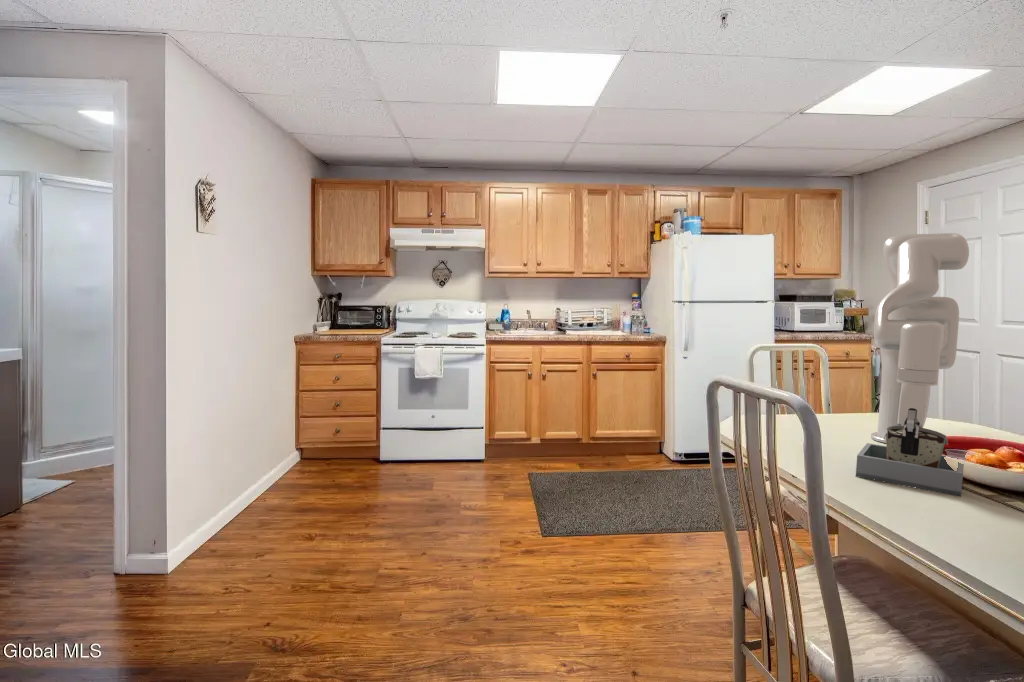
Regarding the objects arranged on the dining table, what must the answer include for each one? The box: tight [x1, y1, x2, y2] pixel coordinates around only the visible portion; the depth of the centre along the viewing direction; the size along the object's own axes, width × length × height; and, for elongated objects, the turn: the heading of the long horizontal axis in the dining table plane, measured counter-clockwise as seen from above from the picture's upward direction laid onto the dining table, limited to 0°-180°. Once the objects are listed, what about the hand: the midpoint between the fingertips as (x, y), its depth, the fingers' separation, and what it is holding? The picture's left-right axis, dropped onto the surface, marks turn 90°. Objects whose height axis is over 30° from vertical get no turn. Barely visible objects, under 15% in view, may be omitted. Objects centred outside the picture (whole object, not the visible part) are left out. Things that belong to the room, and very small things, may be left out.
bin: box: [855, 442, 965, 498], centre depth 127 cm, size 15×19×5 cm
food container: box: [883, 426, 949, 468], centre depth 128 cm, size 12×6×10 cm, turn 70°
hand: (911, 449), depth 127 cm, fingers open, 9 cm apart
